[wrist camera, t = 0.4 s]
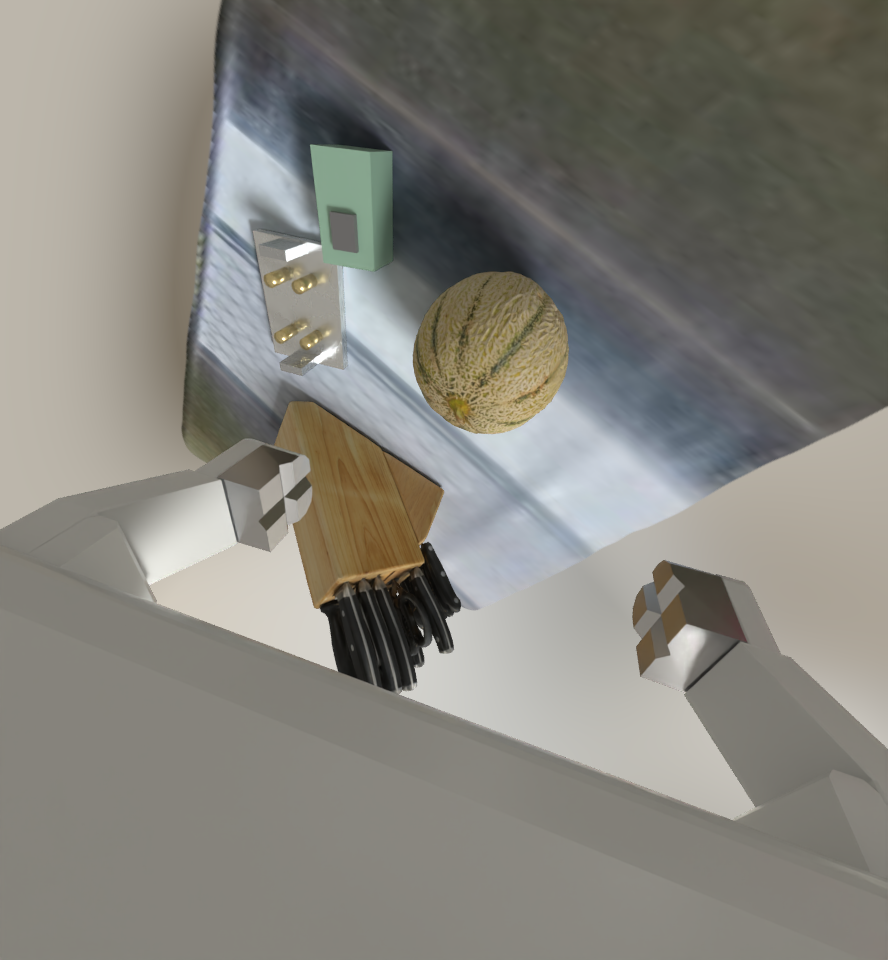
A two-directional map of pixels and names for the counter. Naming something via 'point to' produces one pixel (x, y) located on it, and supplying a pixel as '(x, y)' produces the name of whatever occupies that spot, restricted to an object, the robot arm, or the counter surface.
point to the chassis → (302, 301)
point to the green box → (354, 205)
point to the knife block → (369, 550)
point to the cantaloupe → (491, 352)
